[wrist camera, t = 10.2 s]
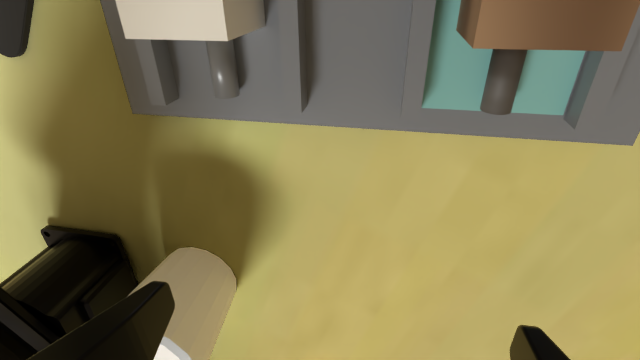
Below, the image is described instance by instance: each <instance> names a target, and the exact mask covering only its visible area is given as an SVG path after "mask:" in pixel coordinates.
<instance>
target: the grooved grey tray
mask: <svg viewBox="0 0 640 360" xmlns="http://www.w3.org/2000/svg"><path fill="white" fill-rule="evenodd" d="M263 1H264V13H265V27H262V28H260V29H257V30H255V31H252V32H250V33H247V34H245V35H242V36H240V37H237V38H235V39H233V43H234V51H235V59H236V67H237V75H238V83H239V91H240V95H239V96H237V97H234V98H229V99H219V98H216V97H214V91H213V85H212V79H211V73H210V67H209V61H208V54H207V48H206V42H205V41H199V40H155V39H126V38H125V35H124V31H123V27H122V24H121V20H120V16H119V12H118V9H117V5H116V1H115V0H100V2H101V5H102V9H103V12H104V16H105V19H106V23H107V26H108V29H109V33H110V36H111V40H112V43H113V47H114V50H115V54H116V57H117V61H118V64H119V68H120V71H121V75H122V78H123V81H124V85H125V88H126V92H127V95H128V99H129V102H130V106H131V109H132V113H133V114H146V115H162V116H178V117H193V118H209V119H225V120H240V121H256V122H271V123H287V124H303V125H318V126H334V127H350V128H365V129H381V130H397V131H412V132H428V133H444V134H459V135H475V136H490V137H506V138H522V139H537V140H553V141H569V142H584V143H600V144H616V145H631V146H633V144H634V142H635V140H636V138H637V136H638V134H639V131H640V5H639V8H638V10H637V13H636V15H635V18H634V20H633V23H632V25H631V28H630V31H629V33H628V36H627V38H626V41H625V43H624V46H623V48H622V51H573V50H528V51H527V54H526V58H525V62H524V66H523V69H522V73H521V77H520V81H519V84H518V88H517V92H516V96H515V99H514V103H513V107H512V111H511V113H510V114H507V115H494V114H489V113H485V112H483V111H481V110H480V105H481V101H482V96H483V92H484V87H485V83H486V78H487V73H488V69H489V64H490V60H491V55H492V51H493V49H473V48H472V47H471V46H470V45H469V44H468V43H467V42H466V41H465V39H464V38H463V37H462V36H461V35H460V34H459V33H458V32H457V31H456V28H457V22H458V16H459V9H460V3H461V0H263Z"/></svg>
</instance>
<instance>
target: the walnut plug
mask: <svg viewBox="0 0 640 360" xmlns="http://www.w3.org/2000/svg"><path fill="white" fill-rule="evenodd" d="M639 5H640V0H461V3H460V9H459V16H458V22H457V28H456V31H457V32H458V33H459V34H460V35H461V36H462V37H463V38H464V39H465V41H466V42H467V43H468V44H469V45H470V46H471V47H472V48H473V49H493V51H492V55H491V60H490V64H489V69H488V73H487V78H486V83H485V87H484V92H483V96H482V101H481V105H480V110H481V111H483V112H485V113H489V114H494V115H507V114H510V113H511V111H512V107H513V103H514V99H515V96H516V92H517V88H518V84H519V81H520V77H521V73H522V69H523V66H524V62H525V58H526V54H527V51H528V50H573V51H622V48H623V46H624V43H625V41H626V38H627V36H628V33H629V31H630V28H631V25H632V23H633V20H634V18H635V15H636V13H637V10H638V8H639Z"/></svg>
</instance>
